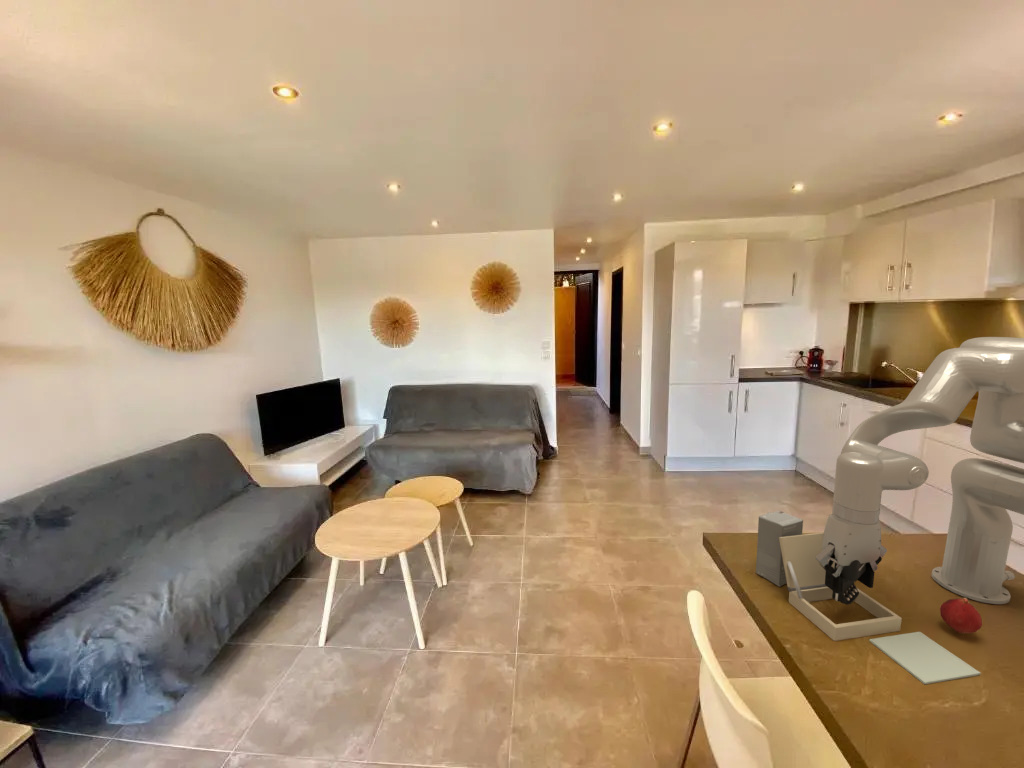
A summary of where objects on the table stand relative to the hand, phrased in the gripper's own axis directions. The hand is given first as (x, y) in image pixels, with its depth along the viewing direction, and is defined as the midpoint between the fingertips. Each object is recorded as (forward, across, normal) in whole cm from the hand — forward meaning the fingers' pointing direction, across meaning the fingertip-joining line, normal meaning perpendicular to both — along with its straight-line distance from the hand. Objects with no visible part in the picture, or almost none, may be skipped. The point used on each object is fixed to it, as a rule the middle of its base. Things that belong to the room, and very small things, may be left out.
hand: (848, 585), depth 89 cm
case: (+7, +1, -2) cm, 7 cm away
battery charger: (+3, 0, 0) cm, 3 cm away
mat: (+7, -4, +12) cm, 15 cm away
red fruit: (+8, -18, +8) cm, 21 cm away
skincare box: (+7, +4, -15) cm, 17 cm away
